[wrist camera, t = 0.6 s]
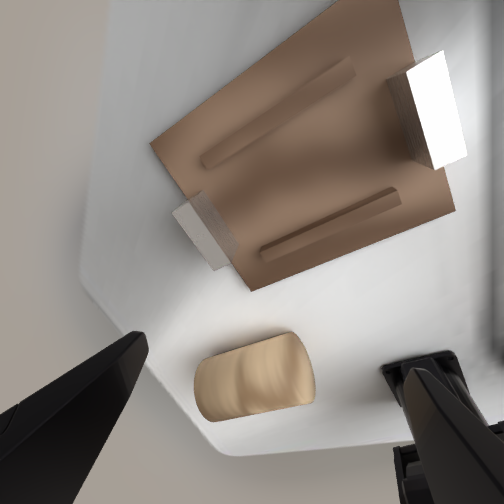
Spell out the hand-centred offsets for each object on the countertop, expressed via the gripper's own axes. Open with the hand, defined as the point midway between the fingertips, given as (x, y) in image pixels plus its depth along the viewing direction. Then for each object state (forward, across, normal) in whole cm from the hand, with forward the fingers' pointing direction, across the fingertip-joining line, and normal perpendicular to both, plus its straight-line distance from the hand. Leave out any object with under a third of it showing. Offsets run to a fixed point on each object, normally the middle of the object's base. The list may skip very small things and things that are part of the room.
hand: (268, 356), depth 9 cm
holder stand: (+13, -1, -4) cm, 13 cm away
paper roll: (+13, +2, +15) cm, 20 cm away
